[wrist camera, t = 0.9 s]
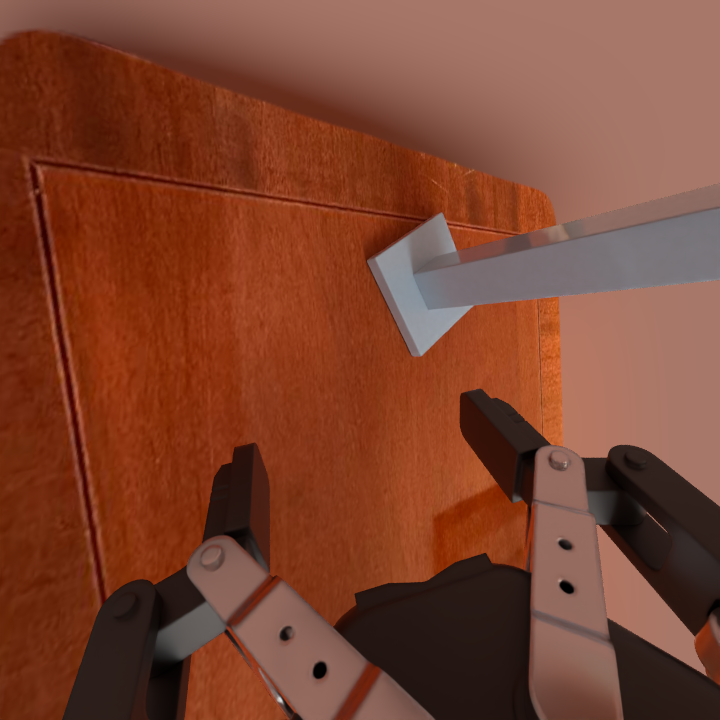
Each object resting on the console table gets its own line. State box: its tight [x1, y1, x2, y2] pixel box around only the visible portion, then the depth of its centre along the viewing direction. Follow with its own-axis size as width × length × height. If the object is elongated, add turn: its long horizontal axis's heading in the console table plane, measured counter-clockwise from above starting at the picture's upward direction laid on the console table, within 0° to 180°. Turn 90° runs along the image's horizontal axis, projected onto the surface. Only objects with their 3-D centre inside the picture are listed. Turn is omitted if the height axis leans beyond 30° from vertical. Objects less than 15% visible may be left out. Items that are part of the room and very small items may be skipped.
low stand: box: [367, 183, 720, 356], centre depth 18 cm, size 8×8×25 cm
